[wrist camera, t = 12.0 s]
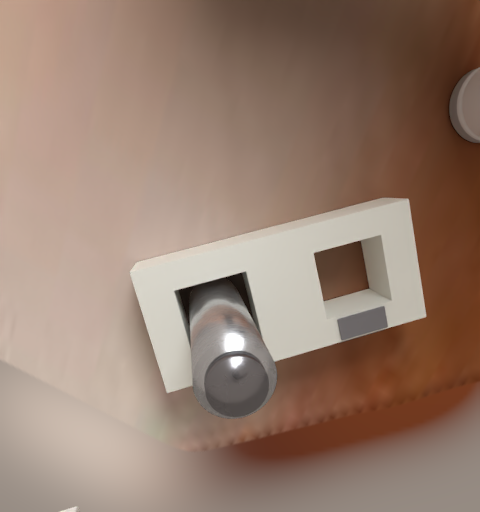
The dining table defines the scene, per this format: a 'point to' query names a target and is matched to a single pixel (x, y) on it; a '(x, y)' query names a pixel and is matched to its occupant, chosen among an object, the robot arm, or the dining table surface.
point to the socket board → (289, 283)
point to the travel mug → (467, 106)
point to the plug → (227, 353)
